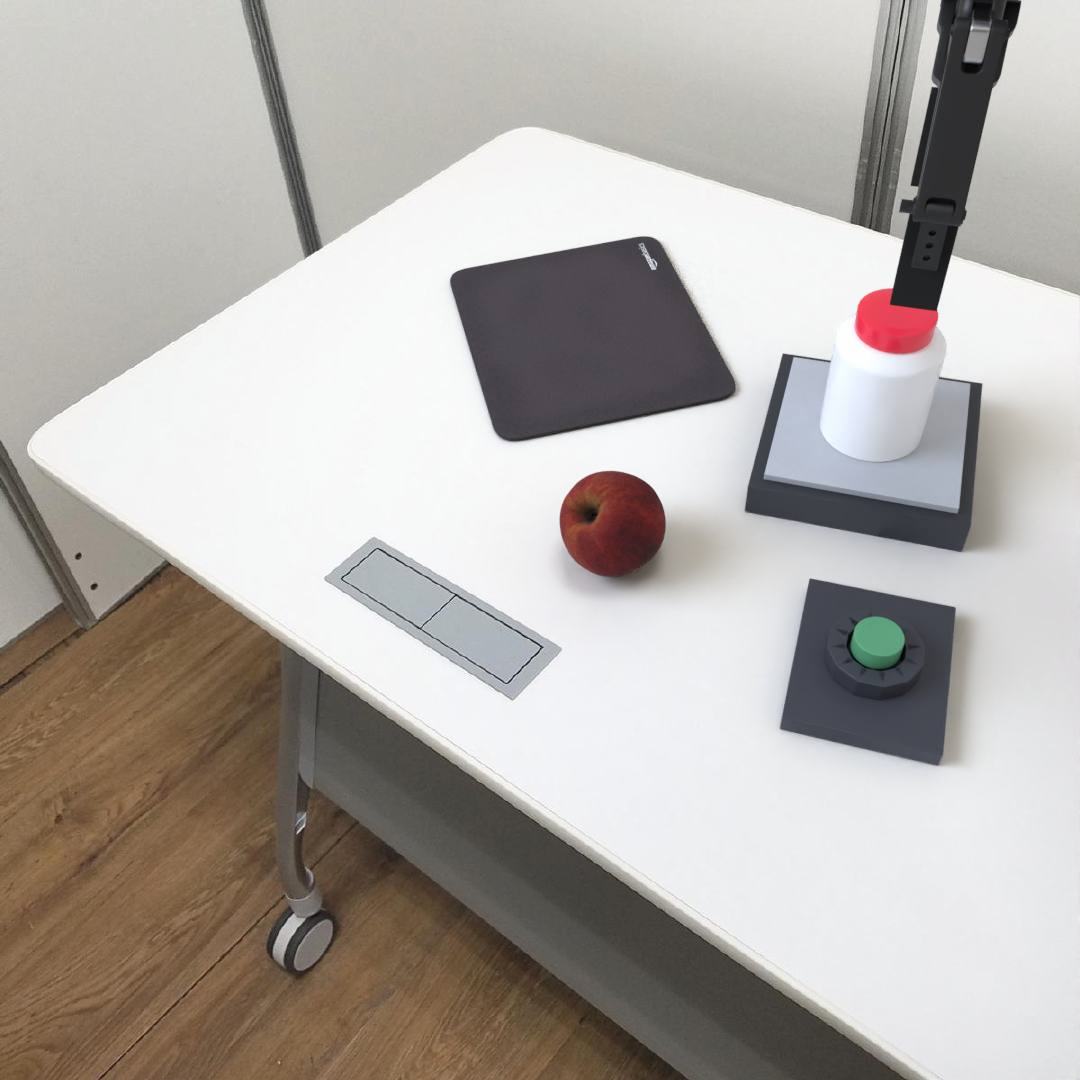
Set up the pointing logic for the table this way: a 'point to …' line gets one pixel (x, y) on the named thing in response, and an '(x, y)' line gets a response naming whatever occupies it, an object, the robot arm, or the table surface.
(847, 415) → the pill bottle
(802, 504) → the scale
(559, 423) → the mouse pad
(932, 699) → the button base
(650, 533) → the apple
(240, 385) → the table surface
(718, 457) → the table surface
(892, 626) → the green button
